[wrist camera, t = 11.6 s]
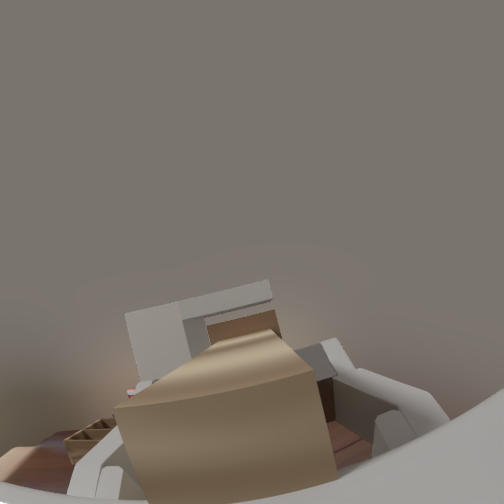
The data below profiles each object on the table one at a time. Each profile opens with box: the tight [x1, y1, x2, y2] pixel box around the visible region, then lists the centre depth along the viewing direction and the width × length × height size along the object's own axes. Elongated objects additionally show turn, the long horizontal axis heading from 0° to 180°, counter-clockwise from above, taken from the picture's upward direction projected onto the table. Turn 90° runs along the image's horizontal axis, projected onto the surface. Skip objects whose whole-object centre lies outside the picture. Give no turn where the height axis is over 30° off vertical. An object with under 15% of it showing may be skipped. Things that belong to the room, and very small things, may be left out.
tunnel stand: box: [125, 279, 273, 381], centre depth 26 cm, size 10×12×36 cm
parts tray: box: [63, 418, 117, 465], centre depth 76 cm, size 24×20×8 cm
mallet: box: [112, 310, 339, 504], centre depth 13 cm, size 18×4×4 cm, turn 179°
